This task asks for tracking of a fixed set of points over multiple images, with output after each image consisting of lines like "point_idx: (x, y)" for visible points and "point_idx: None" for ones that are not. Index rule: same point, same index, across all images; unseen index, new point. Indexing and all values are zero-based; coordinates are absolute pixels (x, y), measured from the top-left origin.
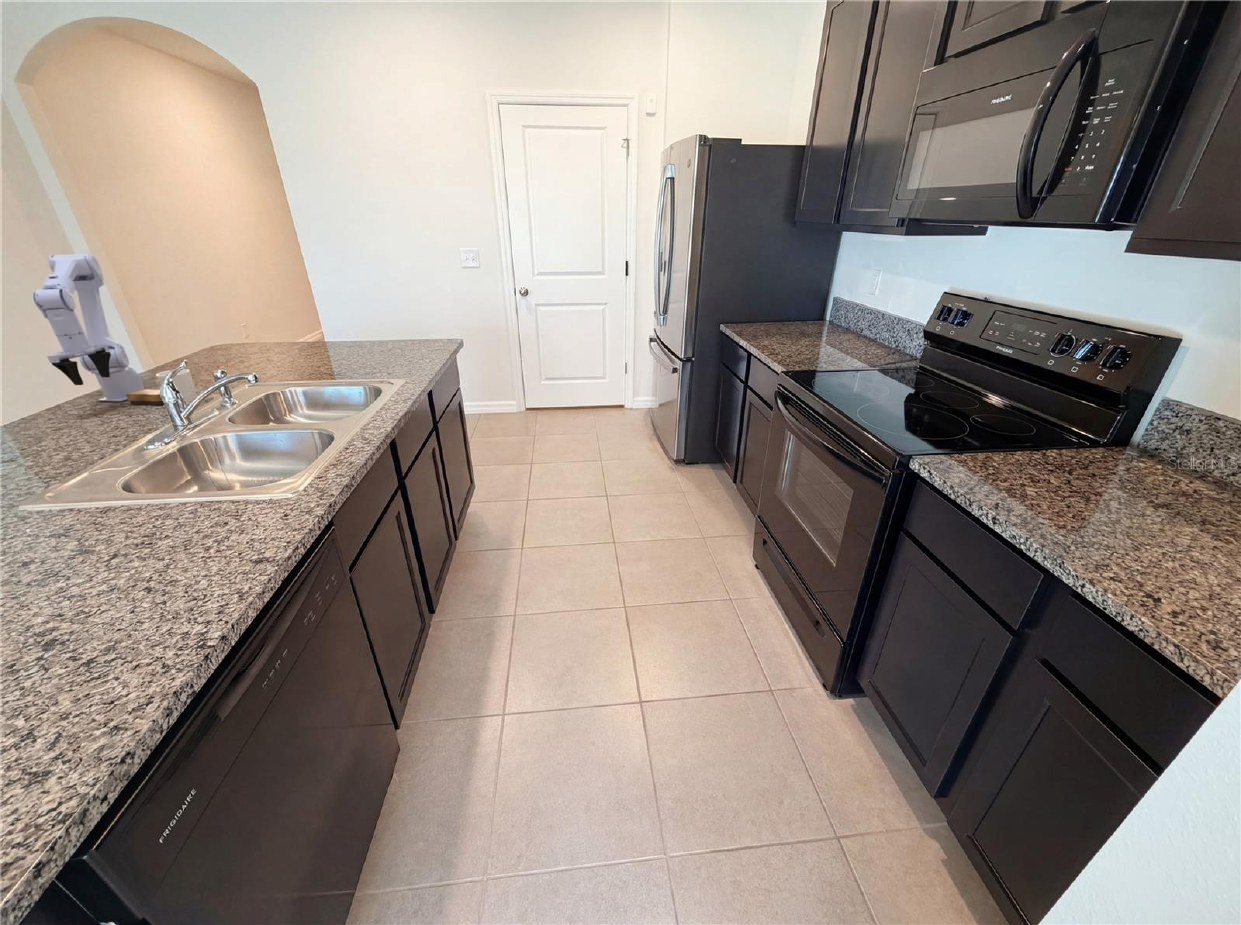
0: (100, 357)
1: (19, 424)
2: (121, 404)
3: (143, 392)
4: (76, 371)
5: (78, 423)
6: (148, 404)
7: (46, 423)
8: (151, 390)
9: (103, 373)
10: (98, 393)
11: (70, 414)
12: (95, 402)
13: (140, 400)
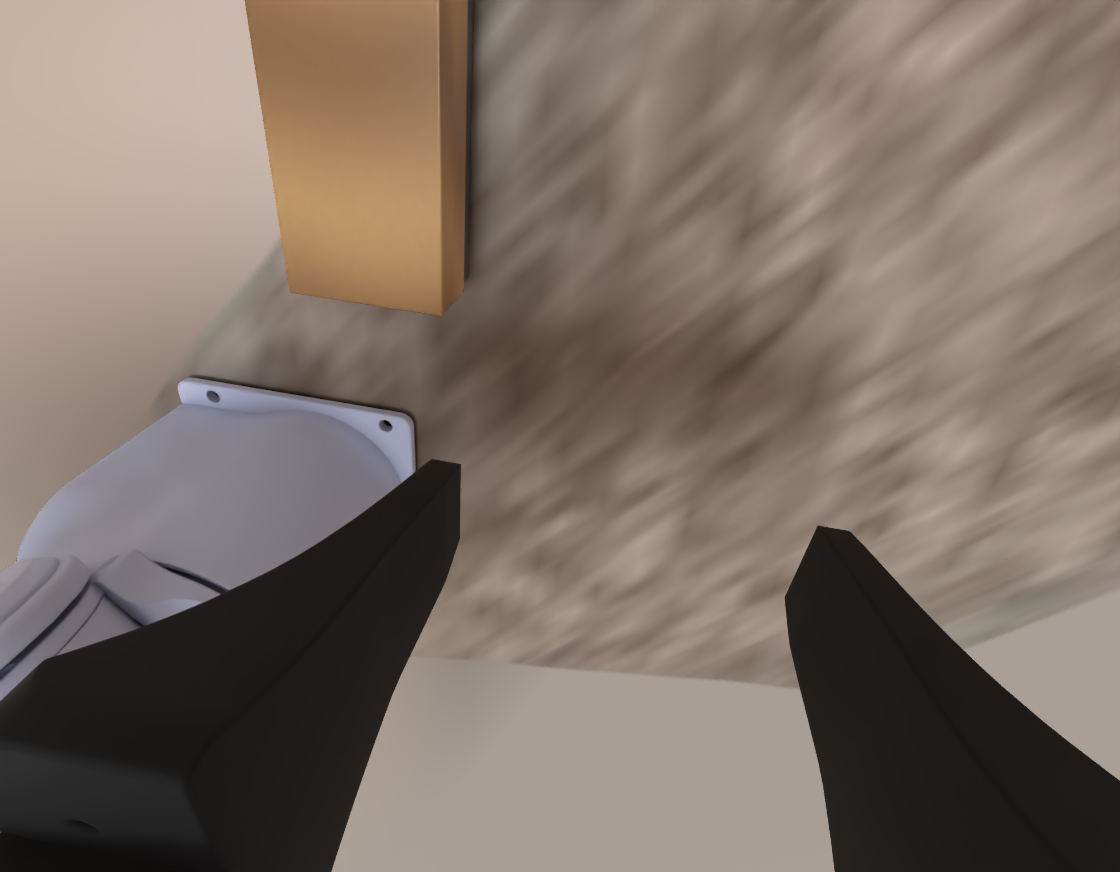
0: (286, 747)
1: None
2: (465, 370)
3: (375, 135)
4: (968, 701)
5: (959, 344)
6: (471, 67)
7: None
8: (290, 95)
9: (439, 539)
10: None
11: (682, 546)
12: None
13: (464, 149)
